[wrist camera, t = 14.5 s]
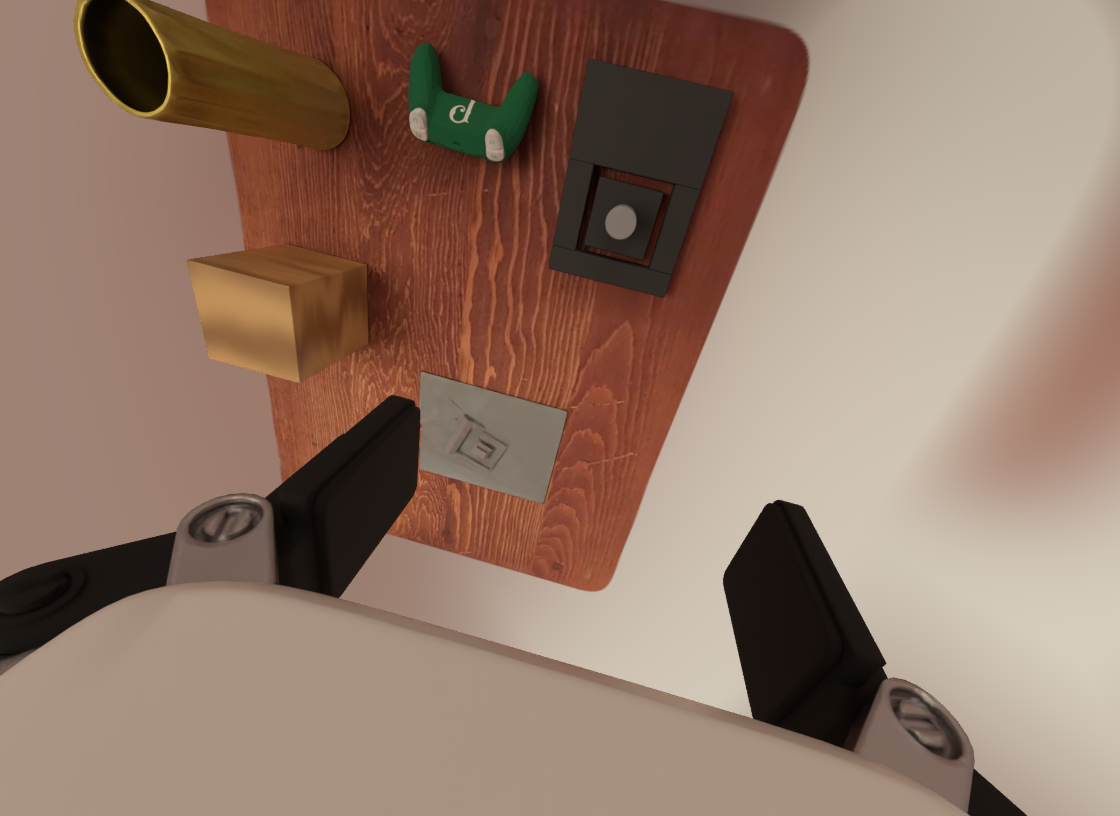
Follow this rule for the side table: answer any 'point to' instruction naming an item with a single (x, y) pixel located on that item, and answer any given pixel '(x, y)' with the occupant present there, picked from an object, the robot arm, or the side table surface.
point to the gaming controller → (466, 112)
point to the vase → (208, 75)
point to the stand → (281, 309)
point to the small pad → (644, 212)
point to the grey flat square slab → (488, 437)
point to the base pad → (638, 163)
